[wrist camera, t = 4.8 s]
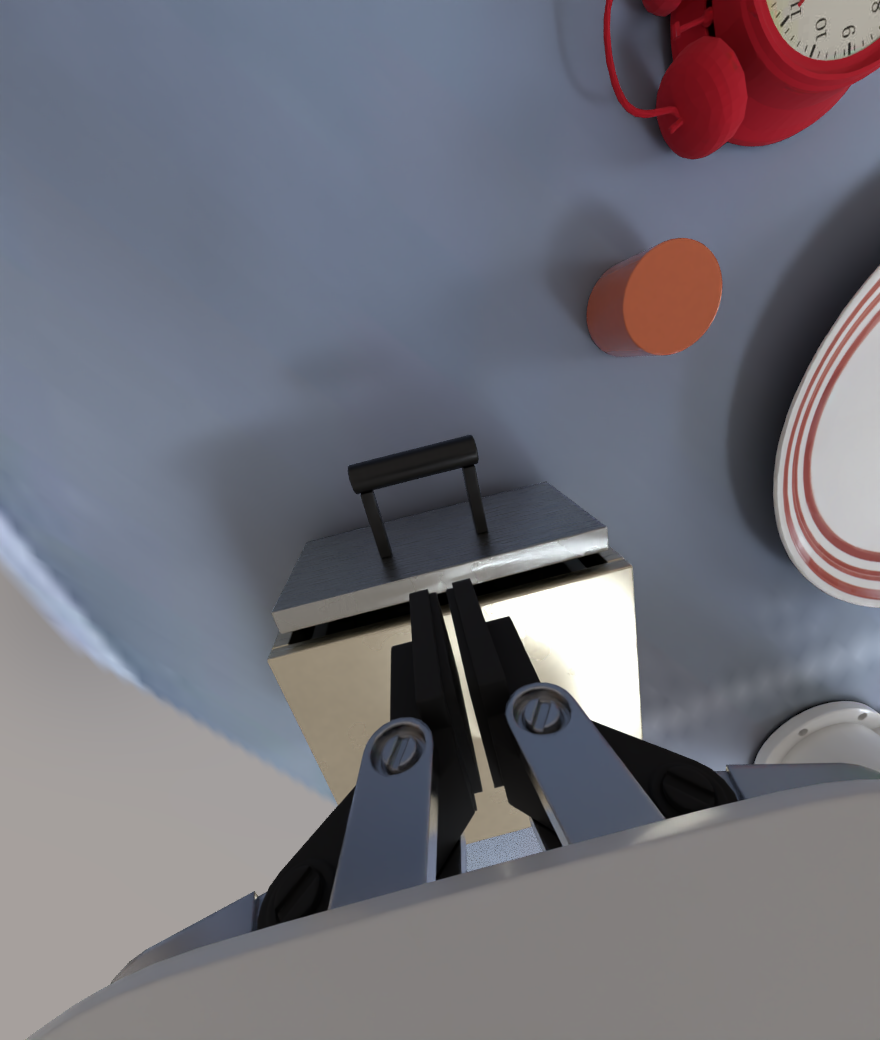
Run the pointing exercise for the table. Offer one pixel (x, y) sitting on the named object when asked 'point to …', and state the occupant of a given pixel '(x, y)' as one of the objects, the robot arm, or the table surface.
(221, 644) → the table surface
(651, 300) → the orange glossy cylinder
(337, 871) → the robot arm
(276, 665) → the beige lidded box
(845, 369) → the dinner plate
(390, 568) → the handled box
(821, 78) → the alarm clock
